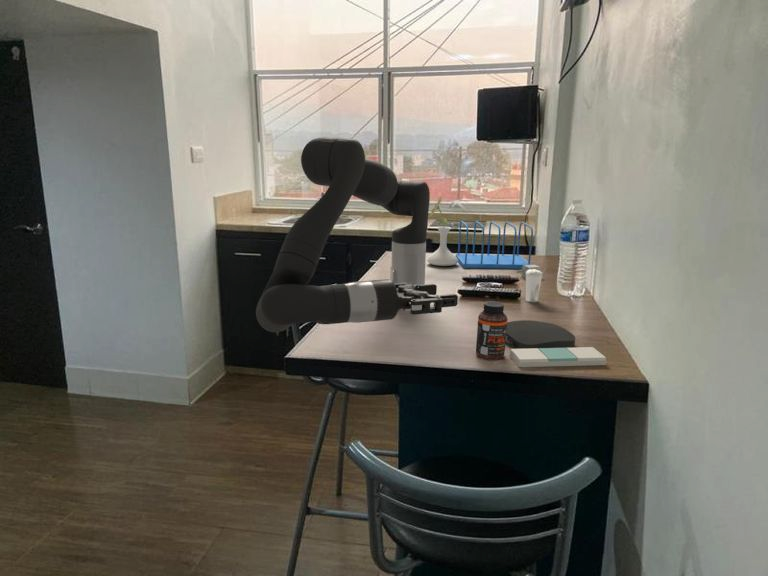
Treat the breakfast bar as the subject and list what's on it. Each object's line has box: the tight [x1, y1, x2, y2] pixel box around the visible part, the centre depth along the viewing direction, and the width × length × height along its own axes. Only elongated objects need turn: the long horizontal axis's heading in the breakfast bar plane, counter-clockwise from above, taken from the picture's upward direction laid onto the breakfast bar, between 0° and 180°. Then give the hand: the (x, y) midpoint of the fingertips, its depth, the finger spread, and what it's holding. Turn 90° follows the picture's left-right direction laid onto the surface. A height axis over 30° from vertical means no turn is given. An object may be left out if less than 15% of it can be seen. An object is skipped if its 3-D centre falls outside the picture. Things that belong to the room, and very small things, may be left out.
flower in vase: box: [426, 196, 459, 267], centre depth 196 cm, size 13×11×25 cm
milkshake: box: [525, 267, 547, 303], centre depth 154 cm, size 5×5×10 cm
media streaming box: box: [505, 319, 576, 349], centre depth 123 cm, size 15×15×3 cm
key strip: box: [509, 346, 607, 368], centre depth 112 cm, size 18×6×2 cm, turn 95°
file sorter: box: [455, 220, 534, 270], centre depth 202 cm, size 25×17×15 cm
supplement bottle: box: [475, 300, 508, 361], centre depth 113 cm, size 6×6×11 cm
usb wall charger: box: [516, 264, 541, 279], centre depth 182 cm, size 4×7×4 cm, turn 110°
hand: (445, 294), depth 106 cm, fingers open, 8 cm apart
